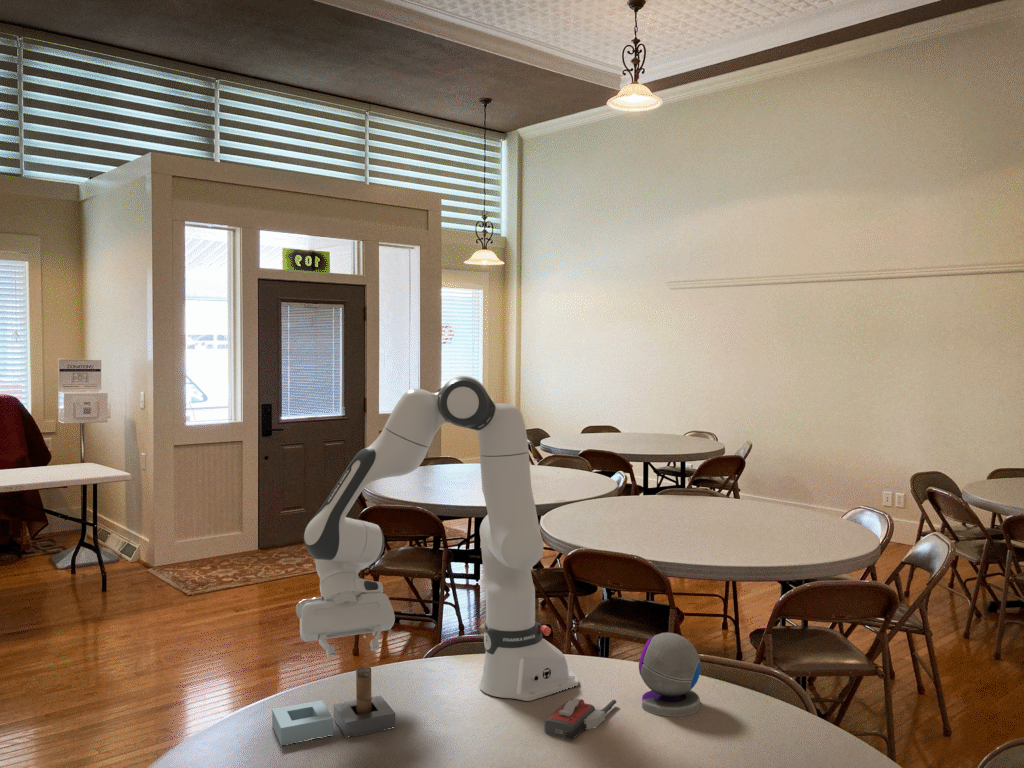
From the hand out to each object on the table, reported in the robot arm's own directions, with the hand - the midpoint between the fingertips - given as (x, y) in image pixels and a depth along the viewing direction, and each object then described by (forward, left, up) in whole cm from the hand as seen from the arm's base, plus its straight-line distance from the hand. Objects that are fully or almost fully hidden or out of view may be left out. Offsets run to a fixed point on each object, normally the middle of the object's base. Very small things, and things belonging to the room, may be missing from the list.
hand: (353, 652), depth 173 cm
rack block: (+12, +6, -12) cm, 18 cm away
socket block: (0, +8, -12) cm, 14 cm away
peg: (0, +8, -12) cm, 14 cm away
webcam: (-61, +28, -12) cm, 68 cm away
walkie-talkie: (-40, +26, -13) cm, 49 cm away
